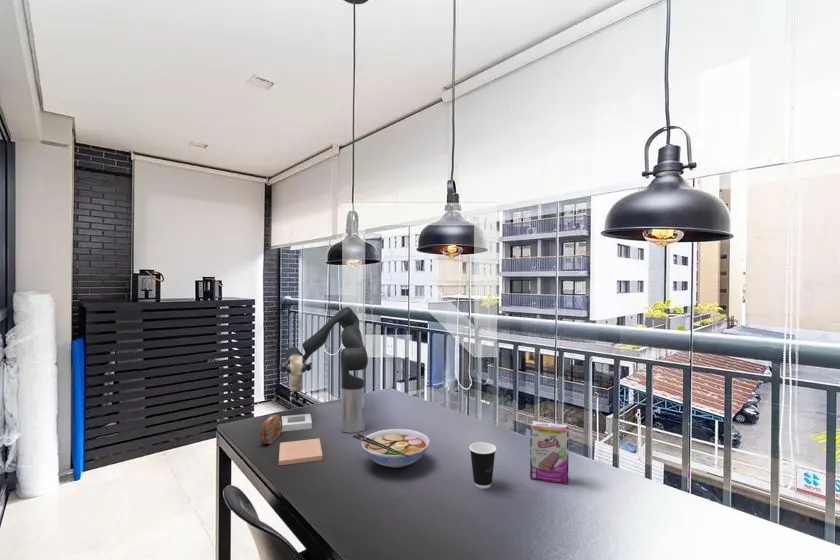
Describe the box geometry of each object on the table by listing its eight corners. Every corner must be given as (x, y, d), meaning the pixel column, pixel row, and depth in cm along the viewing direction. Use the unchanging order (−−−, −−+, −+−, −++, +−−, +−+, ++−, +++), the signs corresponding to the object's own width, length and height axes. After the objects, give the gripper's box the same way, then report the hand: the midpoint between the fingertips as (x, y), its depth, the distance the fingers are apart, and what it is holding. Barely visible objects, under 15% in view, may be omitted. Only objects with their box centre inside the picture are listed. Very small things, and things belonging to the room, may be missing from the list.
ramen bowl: (446, 463, 135) (446, 438, 135) (396, 488, 118) (396, 460, 118) (394, 443, 152) (394, 421, 152) (344, 463, 135) (344, 438, 135)
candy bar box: (529, 479, 123) (529, 425, 124) (531, 472, 128) (530, 420, 128) (569, 485, 120) (568, 429, 120) (568, 477, 124) (568, 424, 125)
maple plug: (302, 387, 174) (302, 355, 175) (302, 390, 170) (302, 357, 170) (289, 388, 173) (290, 355, 173) (290, 391, 168) (290, 357, 168)
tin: (267, 447, 148) (267, 424, 148) (258, 447, 148) (258, 424, 148) (283, 432, 163) (283, 411, 163) (275, 432, 163) (275, 411, 164)
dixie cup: (495, 492, 116) (495, 454, 116) (467, 489, 117) (467, 451, 118) (496, 479, 123) (496, 443, 123) (470, 476, 125) (470, 441, 125)
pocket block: (310, 419, 179) (310, 413, 179) (311, 428, 167) (311, 422, 167) (281, 422, 175) (281, 416, 175) (280, 431, 164) (280, 425, 164)
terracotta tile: (319, 442, 153) (319, 438, 153) (322, 459, 138) (322, 455, 138) (280, 446, 148) (280, 442, 148) (278, 465, 133) (278, 461, 133)
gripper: (279, 356, 183) (278, 362, 167) (312, 354, 187) (314, 360, 171) (279, 372, 183) (278, 381, 167) (312, 370, 187) (314, 378, 171)
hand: (296, 370), depth 169 cm, fingers closed on maple plug, 5 cm apart
